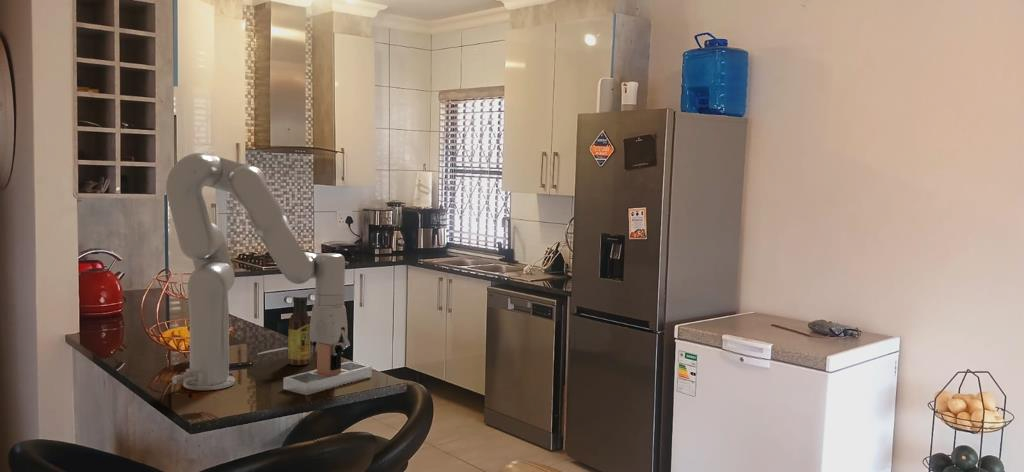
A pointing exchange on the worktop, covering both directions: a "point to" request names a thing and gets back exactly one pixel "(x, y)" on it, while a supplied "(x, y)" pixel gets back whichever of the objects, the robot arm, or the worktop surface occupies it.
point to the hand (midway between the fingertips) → (328, 367)
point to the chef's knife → (274, 350)
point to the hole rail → (326, 378)
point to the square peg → (325, 360)
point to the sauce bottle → (299, 333)
